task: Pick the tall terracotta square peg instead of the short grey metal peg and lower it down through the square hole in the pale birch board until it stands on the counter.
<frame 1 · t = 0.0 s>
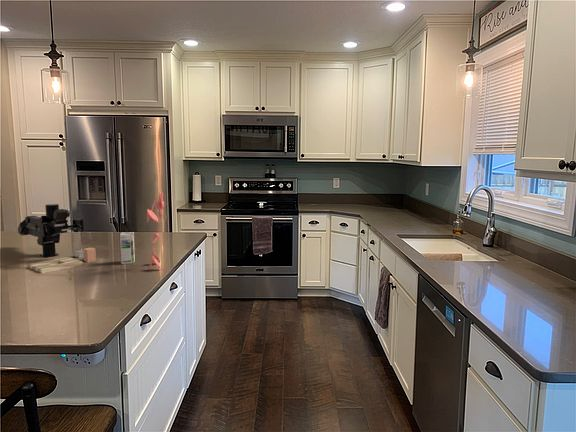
hand: (71, 229, 194), 17 cm above the worktop, tool horizontal, fingers open, 9 cm apart
tall peg: (89, 260, 203), on the worktop
hole board: (56, 266, 192), on the worktop
syrup box: (128, 262, 201), on the worktop
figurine: (163, 266, 195), on the worktop
short peg: (80, 257, 211), on the worktop
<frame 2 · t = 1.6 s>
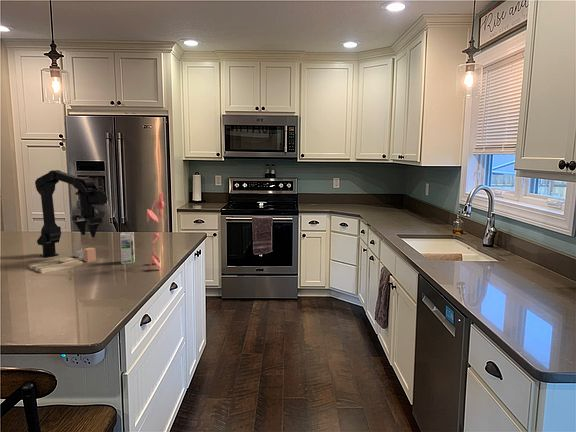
hand: (88, 236, 201), 12 cm above the worktop, tool pointing down, fingers open, 9 cm apart
nothing on the worktop moved.
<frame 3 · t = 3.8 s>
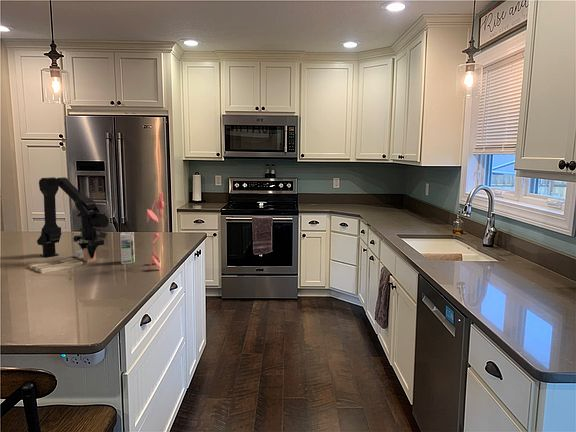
hand: (89, 257, 203), 2 cm above the worktop, tool pointing down, fingers closed on tall peg, 4 cm apart
tall peg: (90, 260, 203), on the worktop, touching gripper
everything else where it was.
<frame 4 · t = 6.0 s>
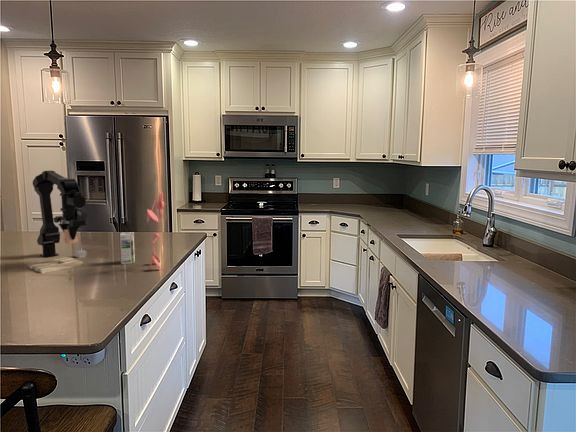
hand: (71, 238, 196), 12 cm above the worktop, tool pointing down, fingers closed on tall peg, 4 cm apart
tall peg: (71, 242, 196), point 10 cm above the worktop, touching gripper
everything else where it was.
when the fingers open (2 cm above the worktop, at t = 8.7 s): tall peg stays where it is, resting in hole board.
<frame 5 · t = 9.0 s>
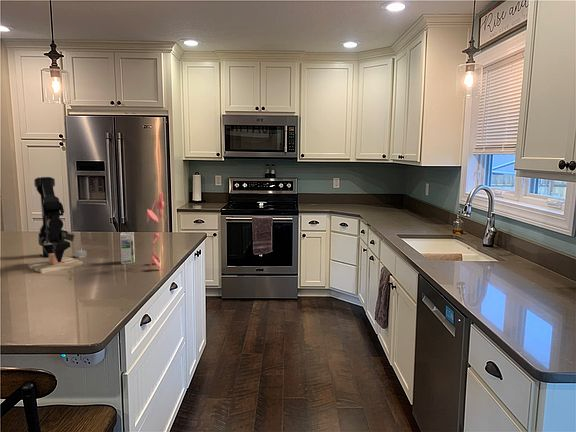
hand: (55, 260, 192), 2 cm above the worktop, tool pointing down, fingers open, 7 cm apart
tall peg: (56, 266, 193), resting in hole board
everything else where it was.
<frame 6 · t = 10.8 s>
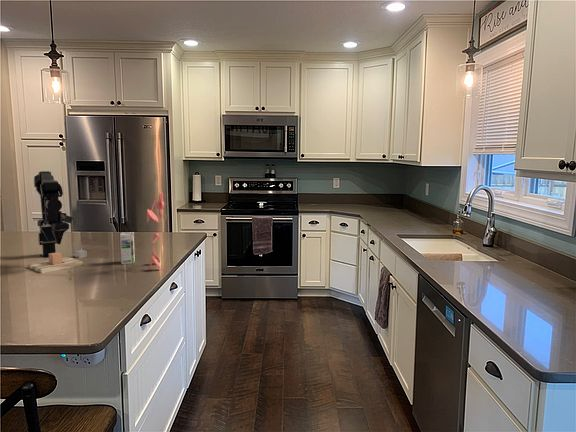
hand: (54, 242, 191), 11 cm above the worktop, tool pointing down, fingers open, 9 cm apart
nothing on the worktop moved.
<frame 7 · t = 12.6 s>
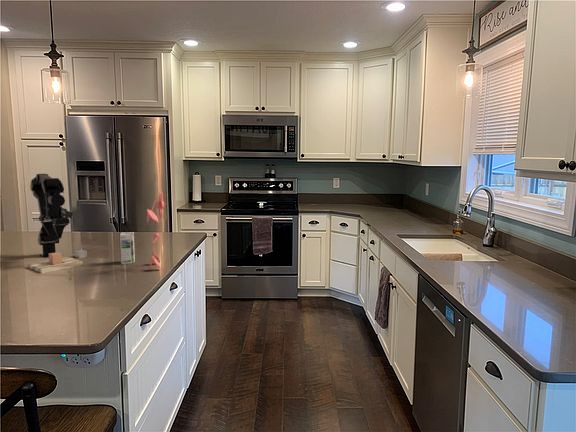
hand: (55, 237, 199), 12 cm above the worktop, tool pointing down, fingers open, 9 cm apart
nothing on the worktop moved.
at the end: tall peg 0.1 cm off-centre on the hole board, point 0.0 cm above the hole board's base; tall peg tilted 0°; the gripper is holding nothing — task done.
